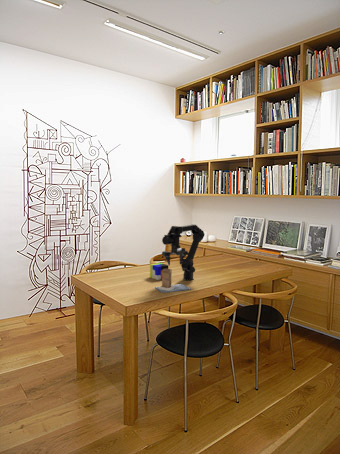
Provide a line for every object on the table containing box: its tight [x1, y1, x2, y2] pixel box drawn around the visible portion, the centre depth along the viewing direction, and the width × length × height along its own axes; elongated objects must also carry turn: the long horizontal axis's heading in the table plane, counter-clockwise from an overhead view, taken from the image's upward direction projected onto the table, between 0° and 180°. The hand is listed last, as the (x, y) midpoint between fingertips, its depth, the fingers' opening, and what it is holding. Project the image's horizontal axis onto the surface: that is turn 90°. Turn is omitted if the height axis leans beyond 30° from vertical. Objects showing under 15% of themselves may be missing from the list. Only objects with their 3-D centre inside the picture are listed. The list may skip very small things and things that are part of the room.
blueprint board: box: [154, 283, 192, 294], centre depth 227 cm, size 21×12×2 cm, turn 117°
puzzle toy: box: [149, 262, 169, 281], centre depth 257 cm, size 10×10×10 cm
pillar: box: [161, 268, 172, 288], centre depth 224 cm, size 4×4×13 cm
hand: (174, 264), depth 242 cm, fingers open, 9 cm apart
